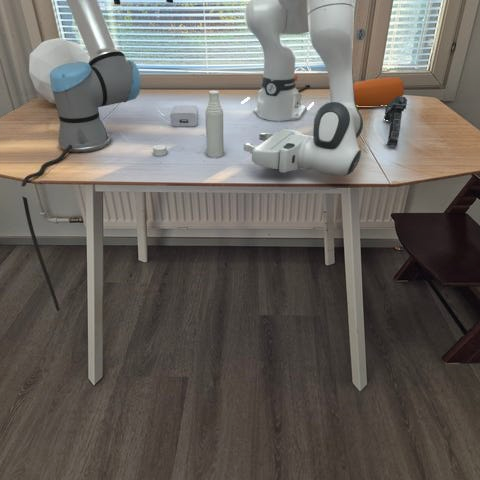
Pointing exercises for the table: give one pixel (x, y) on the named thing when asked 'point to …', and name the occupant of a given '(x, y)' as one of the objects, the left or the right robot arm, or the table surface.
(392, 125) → the futuristic handgun
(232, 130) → the table surface
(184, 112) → the charger
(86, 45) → the left robot arm
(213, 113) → the bottle
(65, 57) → the decorative sphere
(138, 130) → the table surface
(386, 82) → the clog
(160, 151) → the cap
